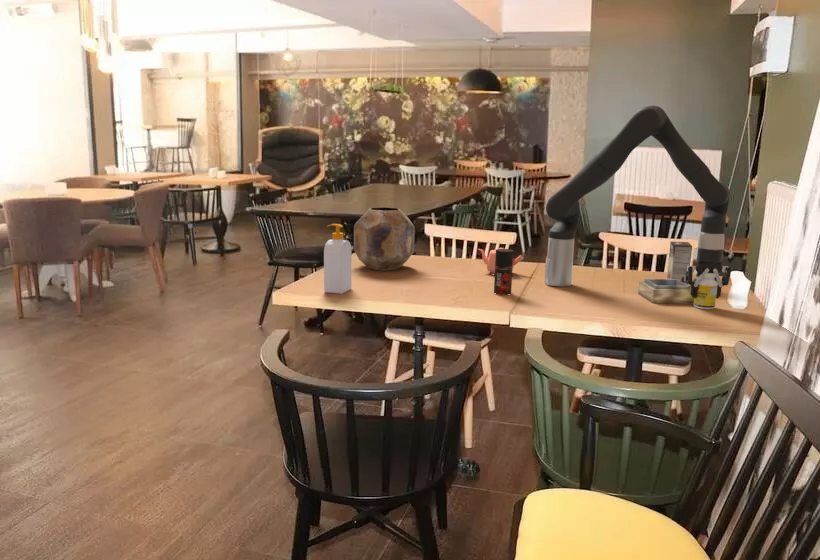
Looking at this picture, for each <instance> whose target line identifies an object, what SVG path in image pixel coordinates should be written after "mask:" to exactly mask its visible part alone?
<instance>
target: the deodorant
mask: <svg viewBox="0 0 820 560" xmlns="http://www.w3.org/2000/svg"><path fill="white" fill-rule="evenodd" d="M495 250H496V257H495V275H494V283H493V285H494V286H493V294H494V293H496V294H495V295H497V294H500V295H499V296H509V295H508V294H510V295H511V294H512V288H513V287H512V285H513V270H512V267H513V261H514V250H513V249H510V248H509V249H508V248H504V249H498V248H497V249H495ZM513 268H514V267H513Z"/></svg>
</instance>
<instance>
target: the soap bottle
mask: <svg viewBox="0 0 820 560" xmlns="http://www.w3.org/2000/svg"><path fill="white" fill-rule="evenodd" d="M330 226H335V232H332V238H331V239H328V240H327V241H326V242H325V243H324V249H323V289H324V291H323V292H324V293H327V294H328V293H329V294H340V295H342V294H343V293H346V292H348V291H350V290H351V289H352V245H351V242H350V241H349V240H344V232H341V230H340V229H341V228H343V227H344V225H342V224H340V223H330V224H328V225H326V227H327V228H328V227H330Z"/></svg>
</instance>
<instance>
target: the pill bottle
mask: <svg viewBox="0 0 820 560" xmlns="http://www.w3.org/2000/svg"><path fill="white" fill-rule="evenodd" d="M714 278H715V274H714V273H706V274H705V277H704V278H703V280H702V281H701V282H700V283H699V284H698V286H697V287H698V291H697V298H694V304H693V307H695V308H697V309H699V310H700V309H701V310H713V309H715V307H716V301H717V299H716V294H717V286H718V283H717V281H716V280H714Z"/></svg>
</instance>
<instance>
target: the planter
mask: <svg viewBox="0 0 820 560" xmlns="http://www.w3.org/2000/svg"><path fill="white" fill-rule="evenodd" d="M415 233H416V232H415V225H414V224H413V222H412V221H411V220H410V218H409V217H408V216H407V215H406V214H405V213H404V212H403V211H402V210H401V209H400V208H397V207H386V206H385V207H370V208H368V210H367V211H366V212H365V213H364V214H363V215H362V216H361V217H360V218H359V219H358V220H357V221H356V222H355V224H354V225H353V251H354V253H355V256H356V257H357V258H358V260H359V261H360V262H361V263H362V264H363V265H365V267H367V269H369V270H375V271H383V272H384V271H385V272H386V271H393V270H395V271H396V270H399V268H401V267H402V266H403V265H404V264H406V263H407V261H408V260H410V257H411V256H412V255H413V254H414V253H415Z"/></svg>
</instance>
